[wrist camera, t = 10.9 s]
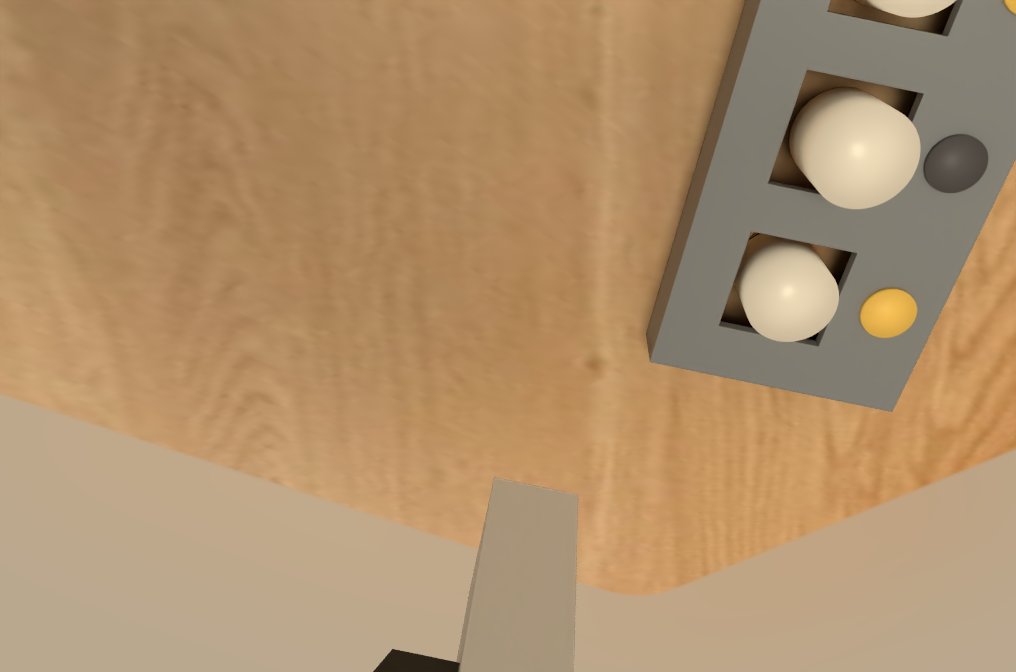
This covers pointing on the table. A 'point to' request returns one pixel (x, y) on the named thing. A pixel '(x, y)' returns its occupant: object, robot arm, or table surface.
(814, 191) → the console
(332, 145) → the table surface
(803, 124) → the button
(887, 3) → the button
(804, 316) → the button
